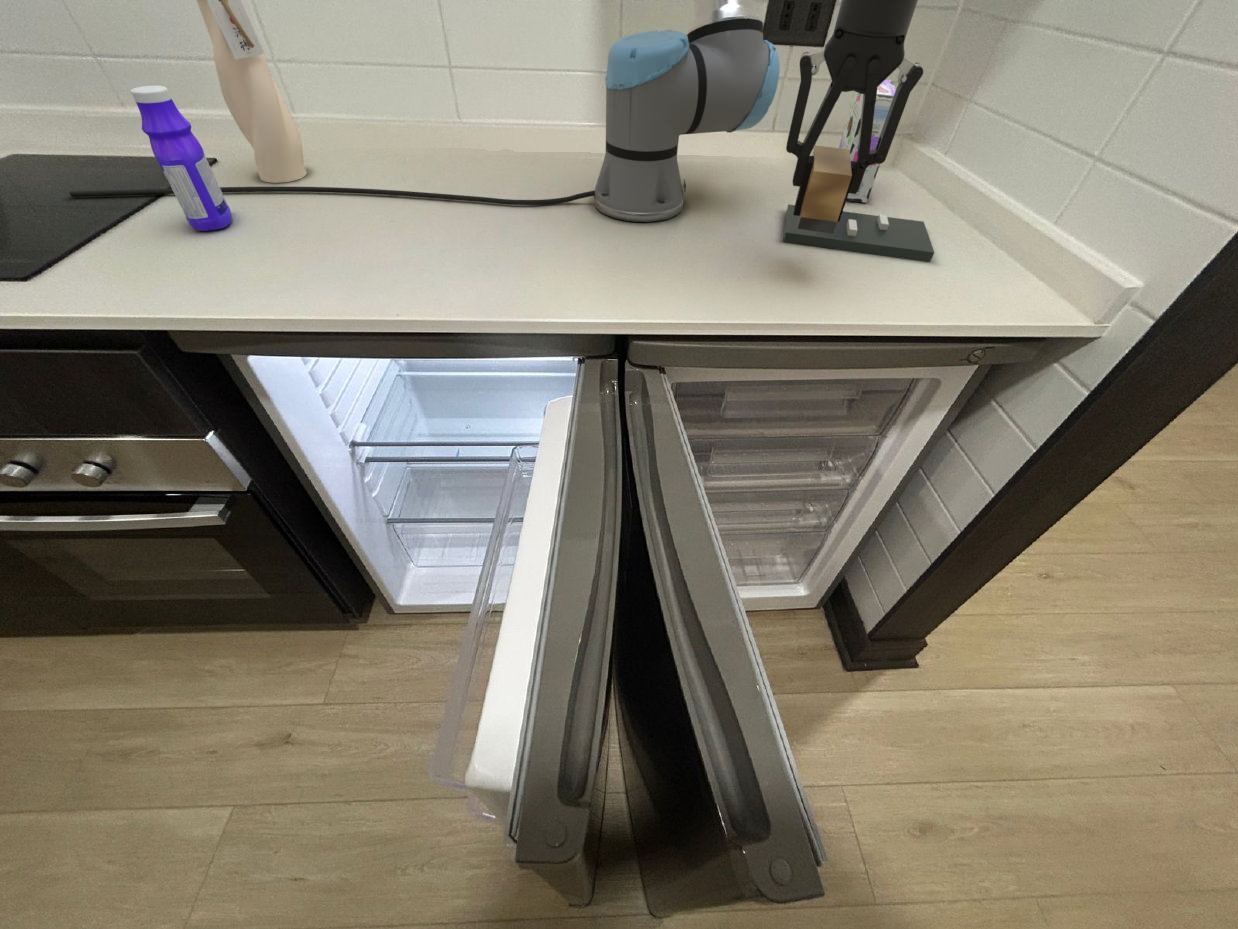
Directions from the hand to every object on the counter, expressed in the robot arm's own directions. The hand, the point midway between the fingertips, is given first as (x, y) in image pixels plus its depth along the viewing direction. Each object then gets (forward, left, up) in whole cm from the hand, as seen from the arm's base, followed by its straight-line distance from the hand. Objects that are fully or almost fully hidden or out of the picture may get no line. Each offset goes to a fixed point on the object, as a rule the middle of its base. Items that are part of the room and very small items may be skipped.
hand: (816, 213), depth 74 cm
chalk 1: (+7, +14, -7) cm, 17 cm away
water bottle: (-91, +9, -8) cm, 92 cm away
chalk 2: (+12, +18, -7) cm, 22 cm away
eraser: (0, 0, 0) cm, 0 cm away
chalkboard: (+8, +16, -8) cm, 19 cm away
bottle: (-88, -12, -8) cm, 89 cm away
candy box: (+8, +38, -8) cm, 39 cm away
